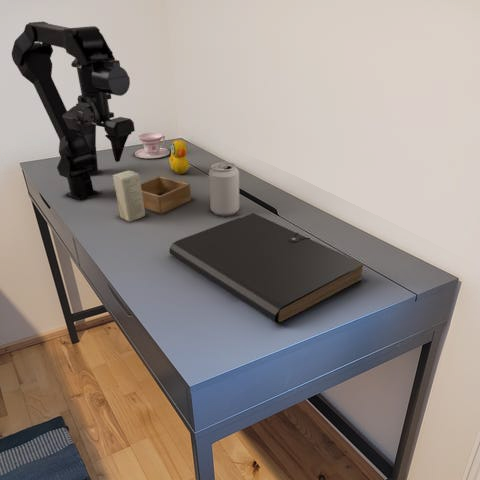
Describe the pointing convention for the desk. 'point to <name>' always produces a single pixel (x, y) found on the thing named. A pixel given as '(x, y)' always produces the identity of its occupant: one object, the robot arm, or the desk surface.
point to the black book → (268, 265)
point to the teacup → (152, 146)
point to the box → (129, 195)
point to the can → (224, 188)
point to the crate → (171, 198)
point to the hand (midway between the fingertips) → (105, 158)
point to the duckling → (179, 157)
